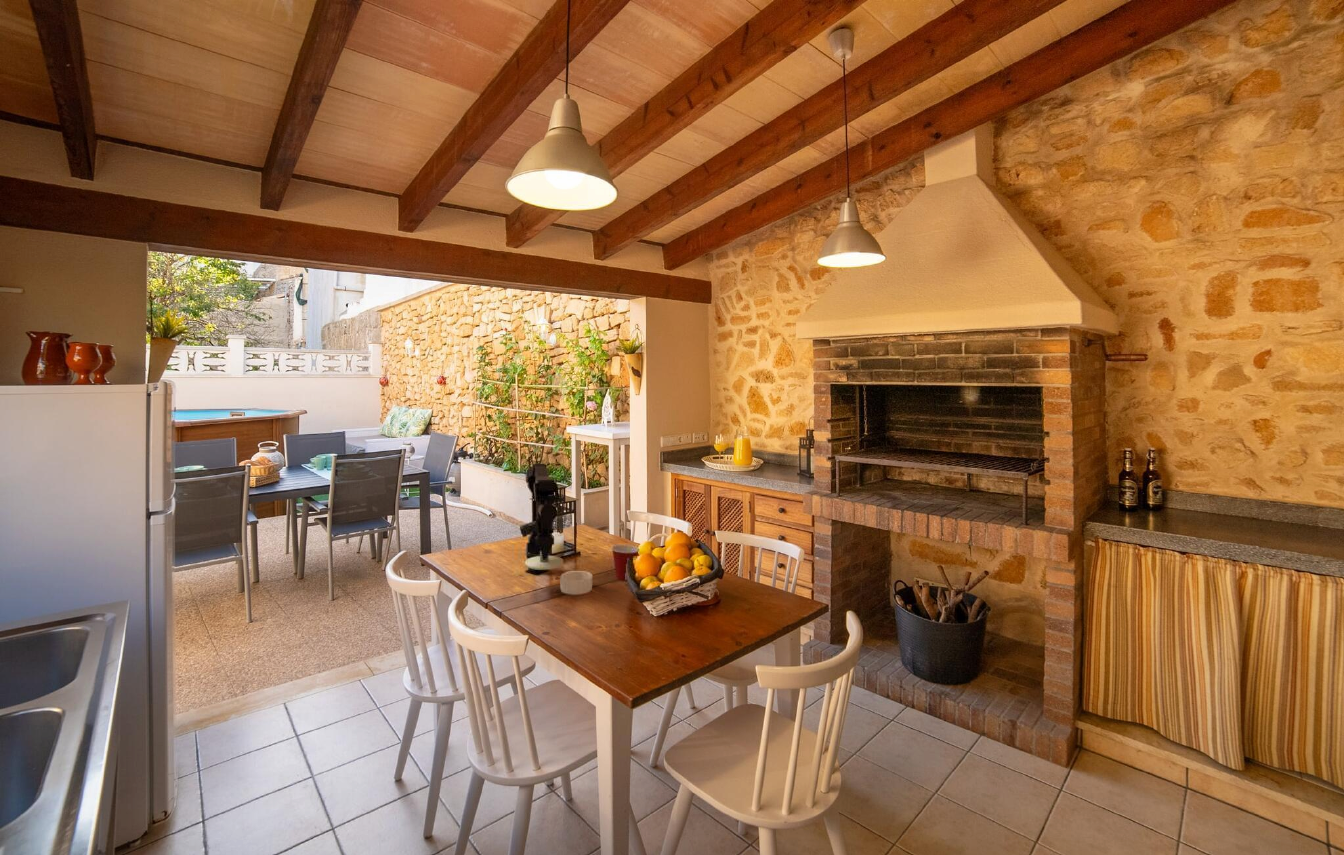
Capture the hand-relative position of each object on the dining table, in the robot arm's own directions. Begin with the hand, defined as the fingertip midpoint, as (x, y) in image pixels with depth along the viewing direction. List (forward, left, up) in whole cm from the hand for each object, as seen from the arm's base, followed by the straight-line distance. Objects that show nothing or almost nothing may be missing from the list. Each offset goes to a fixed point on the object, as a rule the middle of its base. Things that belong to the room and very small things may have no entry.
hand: (544, 558), depth 210 cm
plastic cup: (+15, +28, -12) cm, 34 cm away
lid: (0, 0, -2) cm, 2 cm away
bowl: (+8, +8, -12) cm, 16 cm away
